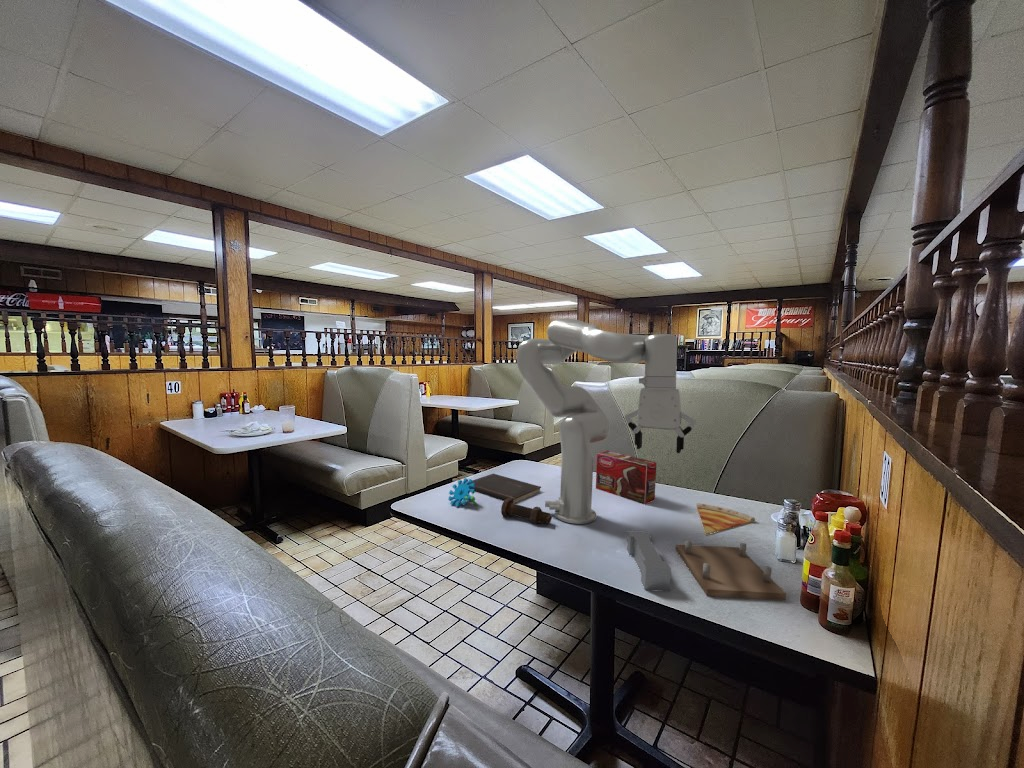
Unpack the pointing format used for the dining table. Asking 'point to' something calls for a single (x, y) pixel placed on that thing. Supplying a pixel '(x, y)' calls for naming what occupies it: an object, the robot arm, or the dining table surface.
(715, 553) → the peg rack
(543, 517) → the bolt
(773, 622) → the dining table surface
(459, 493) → the gear
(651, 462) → the ice cream box
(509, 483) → the hardcover book
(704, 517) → the pizza slice
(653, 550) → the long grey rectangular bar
